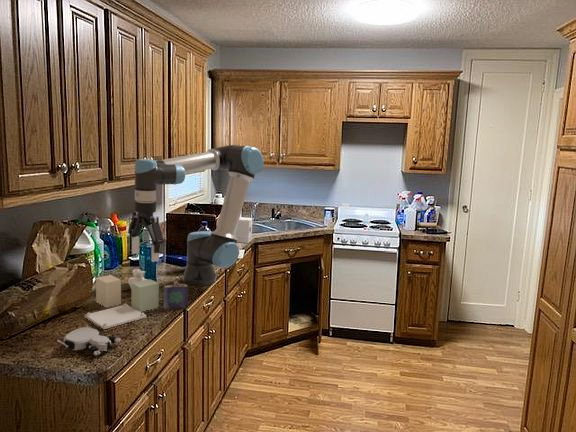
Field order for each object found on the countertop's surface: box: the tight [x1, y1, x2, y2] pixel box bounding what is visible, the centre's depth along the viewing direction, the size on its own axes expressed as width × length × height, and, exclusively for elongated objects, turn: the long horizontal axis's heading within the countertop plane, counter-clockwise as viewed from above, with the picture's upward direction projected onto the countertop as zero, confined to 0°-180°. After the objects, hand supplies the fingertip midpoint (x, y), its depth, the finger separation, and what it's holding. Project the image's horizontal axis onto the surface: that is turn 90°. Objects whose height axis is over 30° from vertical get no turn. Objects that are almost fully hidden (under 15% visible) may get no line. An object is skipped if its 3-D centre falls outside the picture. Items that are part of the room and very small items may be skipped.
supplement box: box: [235, 216, 254, 244], centre depth 292 cm, size 9×9×15 cm
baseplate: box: [84, 303, 147, 329], centre depth 164 cm, size 16×14×2 cm
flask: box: [162, 280, 189, 310], centre depth 177 cm, size 9×3×11 cm, turn 109°
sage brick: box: [130, 278, 160, 313], centre depth 175 cm, size 8×6×10 cm
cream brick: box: [95, 274, 122, 308], centre depth 177 cm, size 6×8×10 cm
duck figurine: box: [127, 268, 149, 288], centre depth 191 cm, size 12×8×11 cm
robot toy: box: [56, 324, 122, 356], centre depth 141 cm, size 12×4×15 cm
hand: (145, 257), depth 172 cm, fingers open, 13 cm apart
